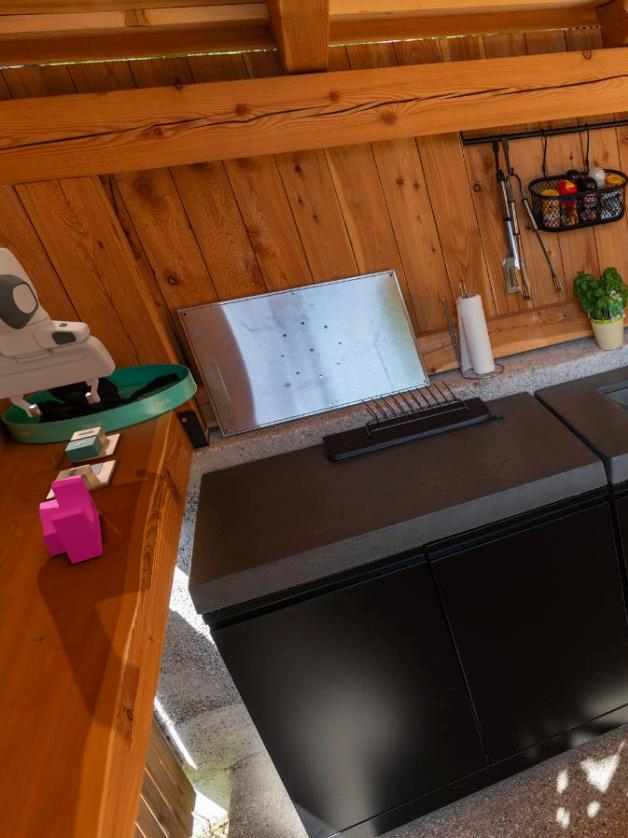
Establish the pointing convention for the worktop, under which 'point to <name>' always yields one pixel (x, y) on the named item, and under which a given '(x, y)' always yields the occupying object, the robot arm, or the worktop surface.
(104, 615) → the worktop surface
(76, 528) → the toy block
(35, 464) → the worktop surface
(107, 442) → the beige flat stepped block
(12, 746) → the worktop surface
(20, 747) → the worktop surface
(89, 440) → the teal slotted box
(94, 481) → the beige base plate
